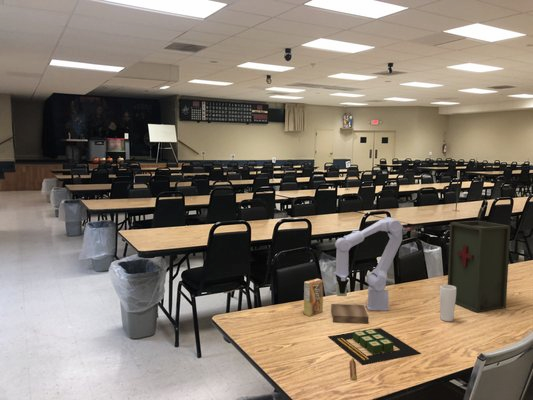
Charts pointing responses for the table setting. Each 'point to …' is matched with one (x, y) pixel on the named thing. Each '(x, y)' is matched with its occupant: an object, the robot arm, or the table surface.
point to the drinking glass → (447, 302)
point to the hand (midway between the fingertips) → (341, 291)
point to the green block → (339, 291)
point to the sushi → (373, 346)
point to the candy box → (313, 297)
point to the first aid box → (479, 264)
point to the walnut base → (349, 313)
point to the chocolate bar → (353, 370)
